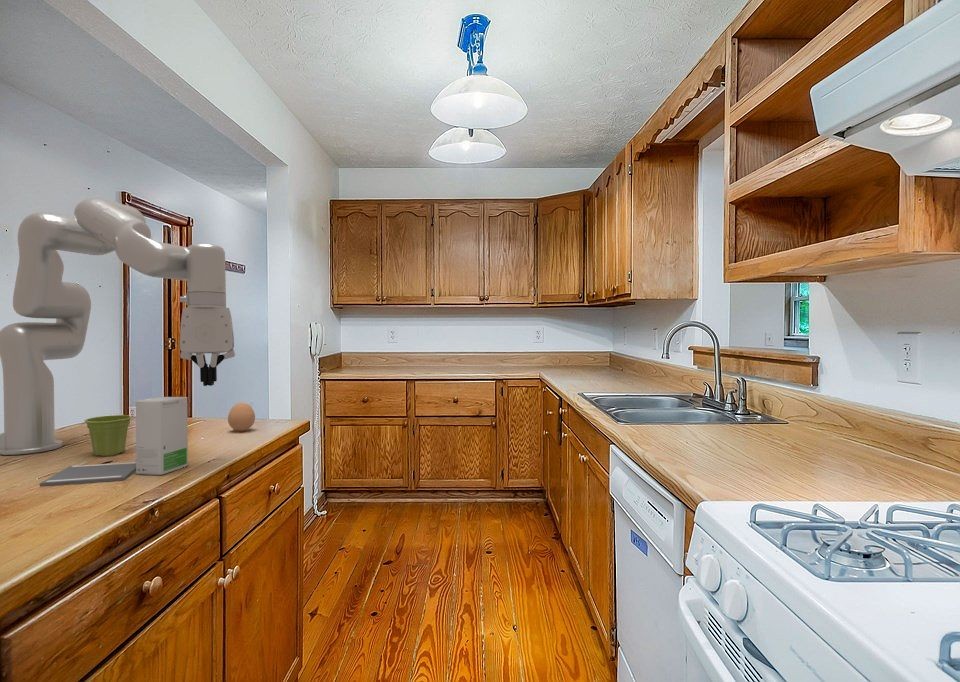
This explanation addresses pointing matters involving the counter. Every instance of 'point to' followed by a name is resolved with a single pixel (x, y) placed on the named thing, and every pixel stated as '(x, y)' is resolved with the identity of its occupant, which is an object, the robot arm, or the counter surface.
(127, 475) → the mat
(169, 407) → the skincare box
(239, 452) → the counter surface
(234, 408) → the egg
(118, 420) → the plant pot
